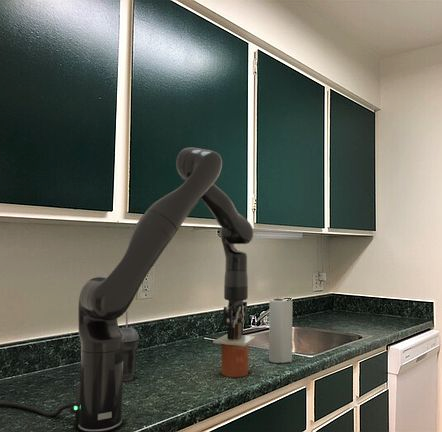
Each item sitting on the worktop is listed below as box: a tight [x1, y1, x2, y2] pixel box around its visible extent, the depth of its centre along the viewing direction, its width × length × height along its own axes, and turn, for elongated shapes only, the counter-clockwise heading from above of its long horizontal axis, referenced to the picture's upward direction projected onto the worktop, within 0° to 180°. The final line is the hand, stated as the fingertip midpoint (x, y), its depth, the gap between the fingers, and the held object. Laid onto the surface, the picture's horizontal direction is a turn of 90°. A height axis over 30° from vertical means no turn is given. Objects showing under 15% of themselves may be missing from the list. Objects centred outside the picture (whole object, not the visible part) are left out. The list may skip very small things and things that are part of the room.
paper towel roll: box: [268, 298, 294, 364], centre depth 157 cm, size 7×6×21 cm
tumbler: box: [220, 343, 250, 378], centre depth 143 cm, size 9×9×10 cm
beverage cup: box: [119, 310, 140, 382], centre depth 136 cm, size 7×7×20 cm
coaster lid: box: [212, 322, 257, 346], centre depth 143 cm, size 10×10×6 cm
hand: (235, 336), depth 143 cm, fingers open, 6 cm apart
